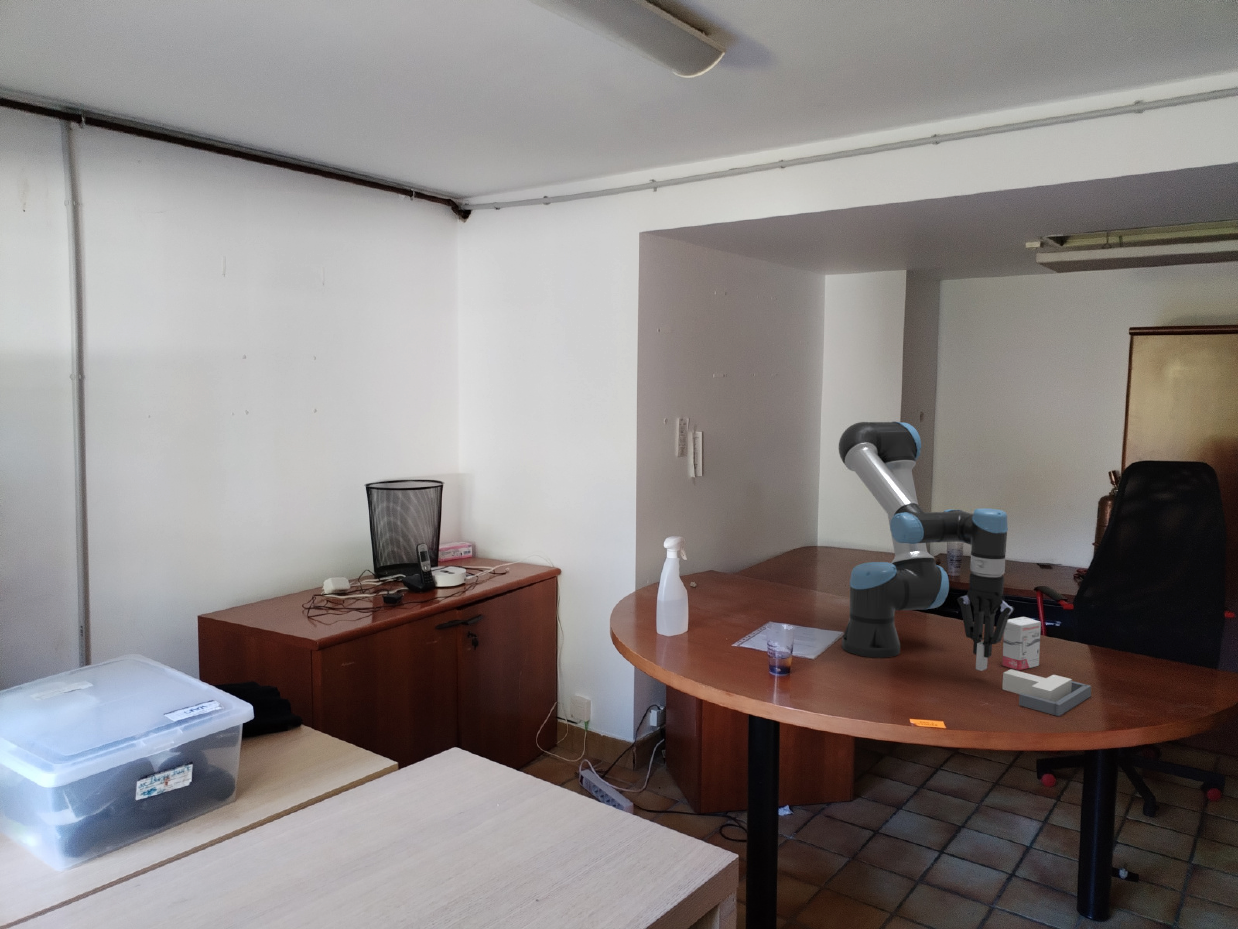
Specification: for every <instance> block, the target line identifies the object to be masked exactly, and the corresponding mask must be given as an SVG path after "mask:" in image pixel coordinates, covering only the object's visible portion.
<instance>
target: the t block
mask: <svg viewBox="0 0 1238 929" xmlns="http://www.w3.org/2000/svg"><path fill="white" fill-rule="evenodd" d="M1072 681H1073V679H1072V678H1069V677H1064V676H1061V675H1056V674H1052V675H1050V676H1048V677H1043V676H1039V675H1035V674H1031V673H1026V672H1023V671H1020V670H1016V669H1012V668H1010V669H1008V670H1005V671H1004V672H1002V690H1004V691H1007V692H1010V693H1014V694H1017V695H1019V694H1021V693H1024V694H1027V695H1031V696H1035V697H1039V698H1042V699H1046V700H1050V701H1053V702H1057V701H1058V700H1060V699H1062V698H1064V697H1065V696H1067V695H1069V694H1070V693H1071V686H1072Z"/></svg>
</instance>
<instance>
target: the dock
mask: <svg viewBox="0 0 1238 929" xmlns="http://www.w3.org/2000/svg"><path fill="white" fill-rule="evenodd" d="M1091 695H1092V685H1090V684H1087V683H1083V682H1082V683H1081V682H1078V681H1073V680H1072V686H1071V693H1070V694H1069V695H1067V696H1065V697H1064V698H1062V699H1060V700H1058V701H1057V702H1053V701H1050V700H1046V699H1042V698H1039V697H1035V696H1031V695H1027V694H1024V693H1021V694H1018V696H1019V697H1018V706H1020V707H1021V706H1022V707H1024V708H1029V709H1032V710H1035V711H1037V712H1038V711H1039V712H1042V713H1046V714H1049V715H1053V716H1055V717H1060V716H1063V715H1064V714H1065V713H1067V712H1068V711H1070V710H1071V709H1073V708H1075V707H1076V706H1078V705H1079V704H1081V703H1082V702H1084V701H1086V700H1087V699H1089V698H1090V697H1091Z"/></svg>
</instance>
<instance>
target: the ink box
mask: <svg viewBox="0 0 1238 929" xmlns="http://www.w3.org/2000/svg"><path fill="white" fill-rule="evenodd" d="M1041 627H1042V622H1041V621H1039V620H1035V619H1033V618H1030V617H1026V616H1020V617H1015V618H1008V621H1007V624H1006V627H1005V630H1004V633H1003V638H1002V639H1003V642H1002V643H1003V644H1002V666H1003V667H1005V668H1010V669H1012V670H1016V671H1023V670H1026V669H1031V668H1034V667H1038V666H1040V651H1041V650H1040V647H1041V645H1040V644H1041V629H1042V628H1041Z"/></svg>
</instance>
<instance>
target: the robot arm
mask: <svg viewBox="0 0 1238 929" xmlns="http://www.w3.org/2000/svg"><path fill="white" fill-rule="evenodd" d="M921 449H922V439H921V436H920V434H919V433H918V430H917V429H916V428H915V427H914V426H913V425H911V424H910V423H908V422H901V421H869V422H868V421H860V422H856V423H854V424H851V425H850V426H848V427H847V428H846V429H845V430H844V431H843V433H841V436H840V438H839V440H838V454H839V457H840V460H841V461H842V463H843V464H844V466H845V467H846V468H847V470H849V471H851V472H854V473H855V474H856V475H857V477H858V478H859V479H860V480H861V481H862V483H863V484H864V485H865V486H866V488H867V489H868V491H869V492H870V493H871V495H872V496H873V497H874V498H875V500H876V502H878V504H879V505H880V506H881V508H882V509H883V510H884V511H885V513H886V514H887V518H888V523H889V524H888V525H889V530H890V534H891V541H892V547H893V552H894V558H893V559H892V561H891V562H887V561H878V562H877V561H869V562H863V563H861V564H858V565H855V566H854V568H852V569H851V573H850V579H849V586H850V588H849V589H850V590H849V620H848V622H847V625H846V627H845V631H844V633H843V636H842V639H841V647H842V649H843V651H846V652H848V653H851V654H853V655H857V656H861V657H867V658H876V659H877V658H880V659H881V658H890V657H891V658H892V657H896V656H898V655H899V654H900V653H901V642H900V638H899V636H898V635H899V634H898V631H897V629H896V626H895V611H898V612H899V611H913V610H921V611H922V610H923V611H925V610H928V609H935V608H939V607H941V606H942V605H943V604H944V602H945V601H946V599H947V597H948V594H949V591H950V582H949V576H948V574H947V571H945V569H944V568H943V567H942V566H940V565H937V564H936V558H935V557H934V556H933V555H931V554H930V553H929V551H928V549H927V544H928V543H931V544H932V543H955V542H957V543H959V542H960V543H965V544H967V545H970V546H971V547H970V548H971V551H970V567H969V570H970V571H971V572H970V573H969V579H968V580H969V582H968V587H969V589H968V591H967V593H966V594H965V595H963V596H960V597H957V599H956V600H957V603H958V604H959V606H960V610H961V615H962V621H963V628H964V634H965V637H966V638H969V639H971V640H972V641H973V649H972V653H973V655H976V658H975V659H976V660H975V670H977V671H981V672H983V671H985V670H987V669H988V658H990V657H991V656H992V652H993V651H992V650H993V645H996V644H998V643H1001V641H1002V639H1003V637H1004V630H1005V627H1006V624H1007V621H1008V619H1010V618H1009V617H1010V616H1011V614H1012V613H1013V612H1014V611H1015V607H1014V606H1013V605H1009V604H1008V603H1007V602H1006V601H1005V596H1004V587H1005V577H1004V576H1003V575H1004V574H1005V572H1006V571H1005V570H1006V554H1007V553H1006V551H1007V541H1008V540H1007V539H1008V531H1009V530H1008V529H1009V526H1008V514H1007V512H1005V511H1004V510H1002V509H995V508H988V507H987V508H984V507H981V508H976V509H974V511H973V513H971V512H966V511H963V510H961V509H952V508H951V509H949V508H948V509H946V510H944V511H939V512H938V511H937V512H936V511H933V512H930V511H927V512H925V511H924V510H923V508H922V507H921V506H920V505H919V502H918V497H917V492H916V486H915V482H914V476H913V469H914V467H915V466H916V465H917V462H916V460H918V459H919V457H920V455H921ZM971 605H972V606H971ZM971 607H973V614H972V608H971ZM998 609H1000V614H999V617H998V619H997V623H996V626H995V618H996V614H997V611H998ZM973 616H974V617H973Z"/></svg>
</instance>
